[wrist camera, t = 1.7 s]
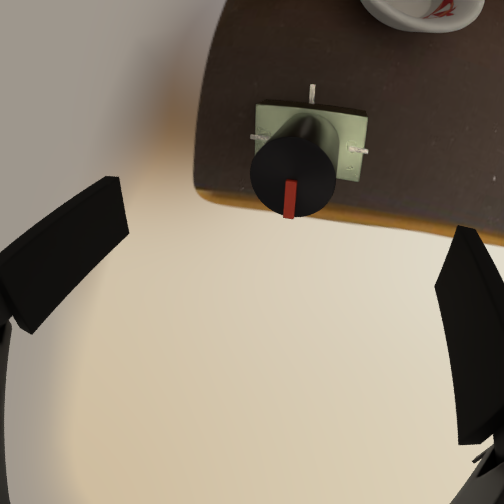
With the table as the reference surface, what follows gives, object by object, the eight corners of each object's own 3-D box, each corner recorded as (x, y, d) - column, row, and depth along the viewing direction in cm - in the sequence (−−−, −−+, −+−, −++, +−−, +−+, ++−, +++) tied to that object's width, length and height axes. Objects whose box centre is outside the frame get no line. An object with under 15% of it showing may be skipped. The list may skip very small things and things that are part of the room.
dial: (279, 109, 21) (248, 134, 15) (342, 117, 20) (340, 144, 14) (277, 166, 23) (247, 213, 17) (335, 175, 22) (329, 226, 16)
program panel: (262, 77, 23) (251, 80, 20) (372, 89, 21) (375, 93, 18) (259, 175, 27) (249, 189, 25) (358, 189, 26) (359, 205, 23)
